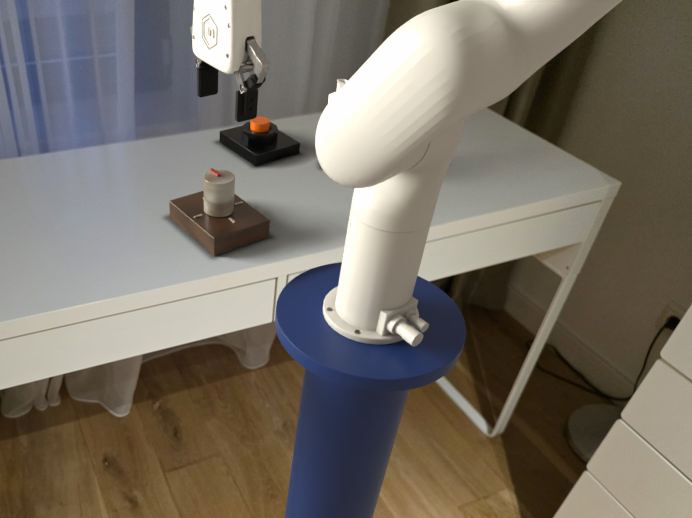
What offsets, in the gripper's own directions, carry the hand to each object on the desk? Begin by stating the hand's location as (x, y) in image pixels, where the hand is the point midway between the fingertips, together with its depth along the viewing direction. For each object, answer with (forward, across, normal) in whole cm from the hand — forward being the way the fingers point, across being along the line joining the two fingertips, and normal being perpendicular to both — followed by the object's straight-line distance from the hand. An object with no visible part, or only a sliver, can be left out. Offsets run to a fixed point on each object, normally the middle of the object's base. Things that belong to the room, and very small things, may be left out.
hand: (226, 107), depth 91 cm
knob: (+15, +1, -1) cm, 15 cm away
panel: (+18, +1, -1) cm, 18 cm away
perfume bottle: (+18, -6, +28) cm, 34 cm away
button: (+15, -19, +20) cm, 32 cm away
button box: (+18, -19, +20) cm, 34 cm away
